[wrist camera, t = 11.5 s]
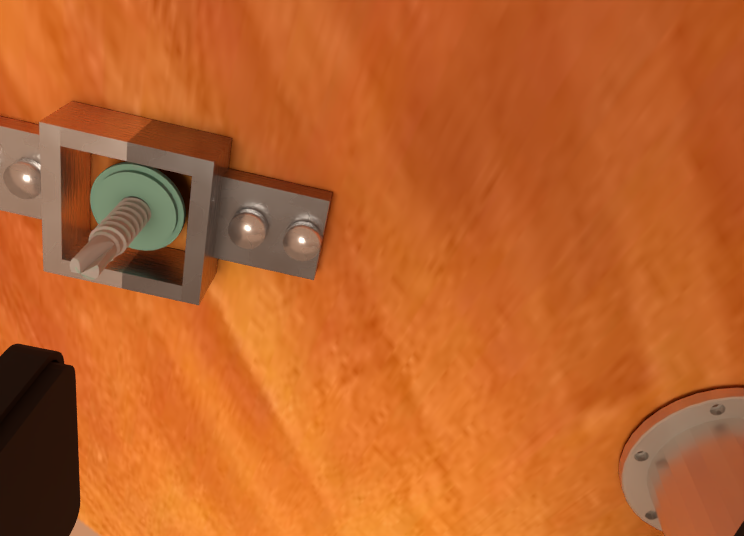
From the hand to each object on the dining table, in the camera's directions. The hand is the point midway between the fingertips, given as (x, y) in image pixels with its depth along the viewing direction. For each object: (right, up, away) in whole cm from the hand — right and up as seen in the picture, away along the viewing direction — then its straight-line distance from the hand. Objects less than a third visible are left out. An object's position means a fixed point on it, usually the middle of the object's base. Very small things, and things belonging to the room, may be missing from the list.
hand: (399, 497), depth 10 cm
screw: (-13, +7, +29) cm, 32 cm away
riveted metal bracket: (-13, +7, +29) cm, 32 cm away
